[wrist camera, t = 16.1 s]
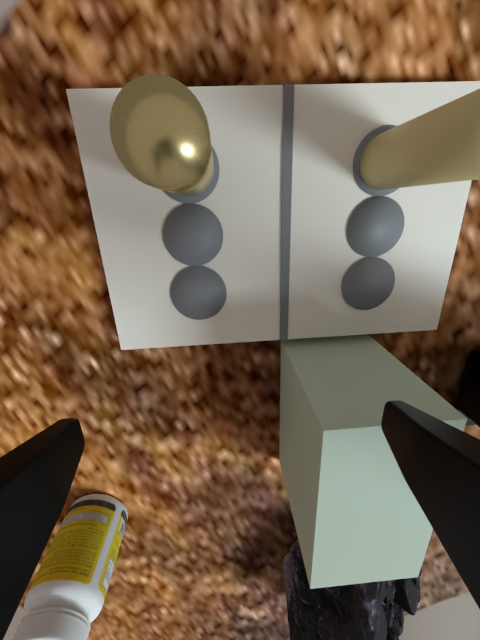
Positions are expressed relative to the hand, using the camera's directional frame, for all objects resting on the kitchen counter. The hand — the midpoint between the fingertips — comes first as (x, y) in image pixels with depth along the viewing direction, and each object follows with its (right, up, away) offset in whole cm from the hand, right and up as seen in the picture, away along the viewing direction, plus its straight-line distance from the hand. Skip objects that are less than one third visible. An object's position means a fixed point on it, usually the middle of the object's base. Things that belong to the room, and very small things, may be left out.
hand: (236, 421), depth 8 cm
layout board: (+3, +8, +8) cm, 12 cm away
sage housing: (+6, -3, +13) cm, 15 cm away
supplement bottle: (-12, -13, +16) cm, 24 cm away
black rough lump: (+10, -20, +20) cm, 31 cm away
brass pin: (-2, +10, +6) cm, 12 cm away
